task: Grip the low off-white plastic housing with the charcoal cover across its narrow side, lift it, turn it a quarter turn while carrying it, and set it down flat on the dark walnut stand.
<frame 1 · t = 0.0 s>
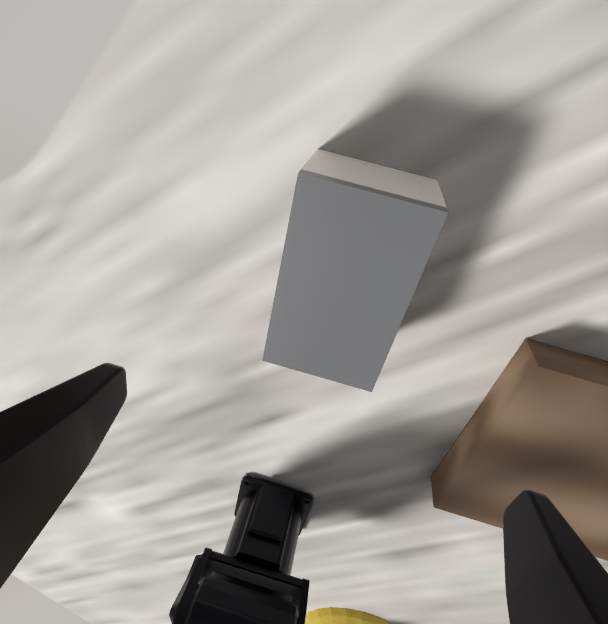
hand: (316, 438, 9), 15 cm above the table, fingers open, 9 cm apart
walnut stand: (589, 452, 26), on the table
housing: (350, 253, 22), on the table
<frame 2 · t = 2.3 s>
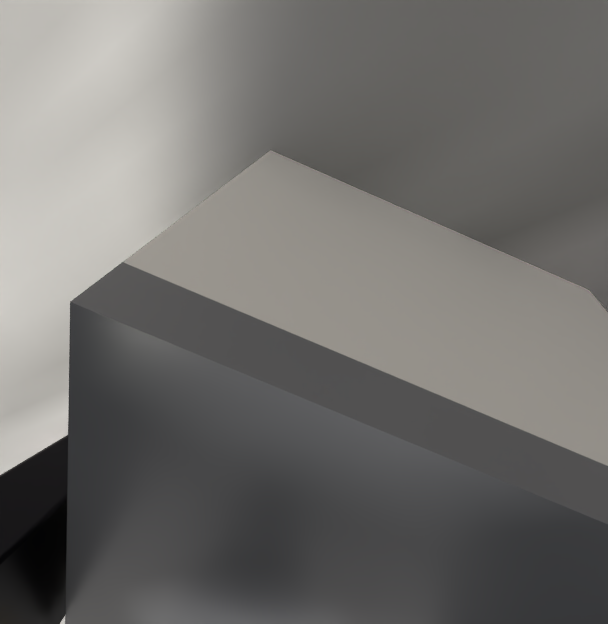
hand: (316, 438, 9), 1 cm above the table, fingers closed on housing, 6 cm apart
housing: (324, 403, 10), on the table, touching gripper
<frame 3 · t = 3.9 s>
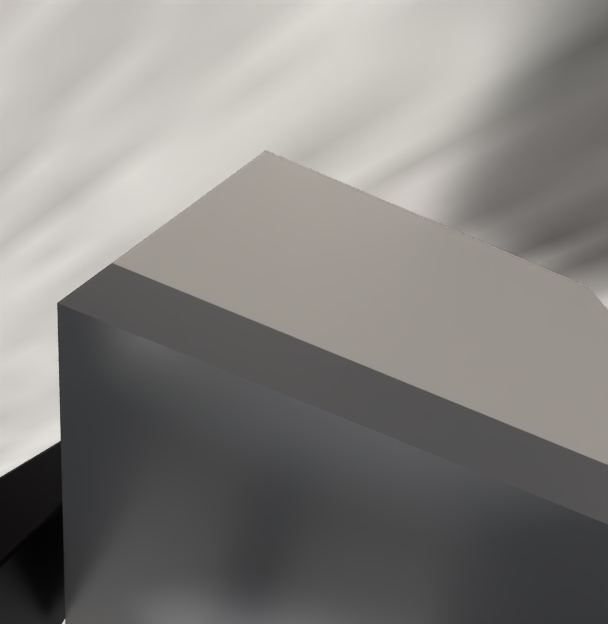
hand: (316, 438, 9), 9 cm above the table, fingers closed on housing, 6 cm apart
housing: (324, 403, 10), point 8 cm above the table, touching gripper
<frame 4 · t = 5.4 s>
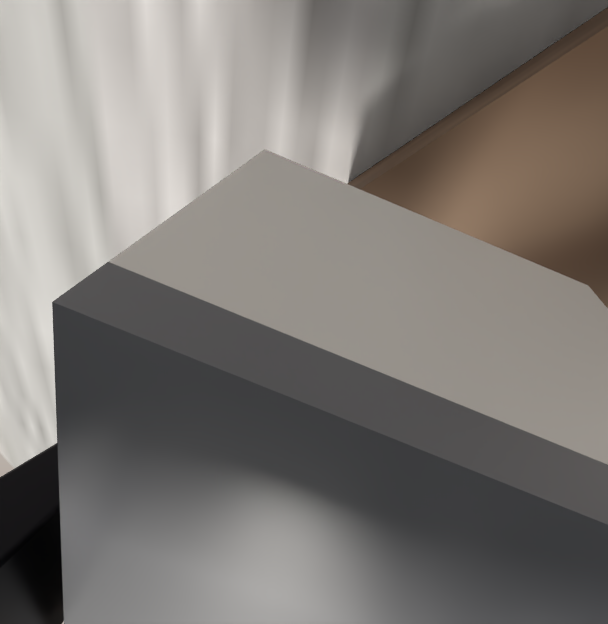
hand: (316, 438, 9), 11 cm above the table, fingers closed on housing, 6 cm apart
housing: (323, 403, 10), point 10 cm above the table, touching gripper
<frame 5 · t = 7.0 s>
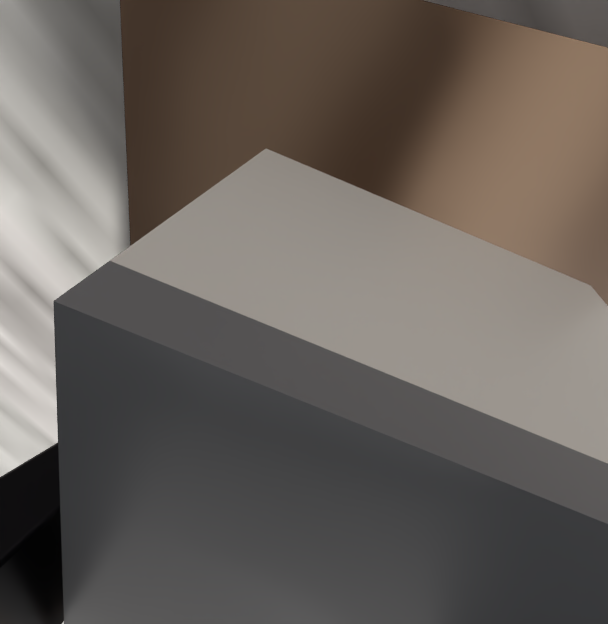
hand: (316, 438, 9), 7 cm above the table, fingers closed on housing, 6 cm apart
walnut stand: (347, 280, 15), on the table
housing: (324, 403, 10), point 6 cm above the table, touching gripper
when the fingers open (5 cm above the table, at t = 8.3 s): housing drops 1 cm, resting on walnut stand.
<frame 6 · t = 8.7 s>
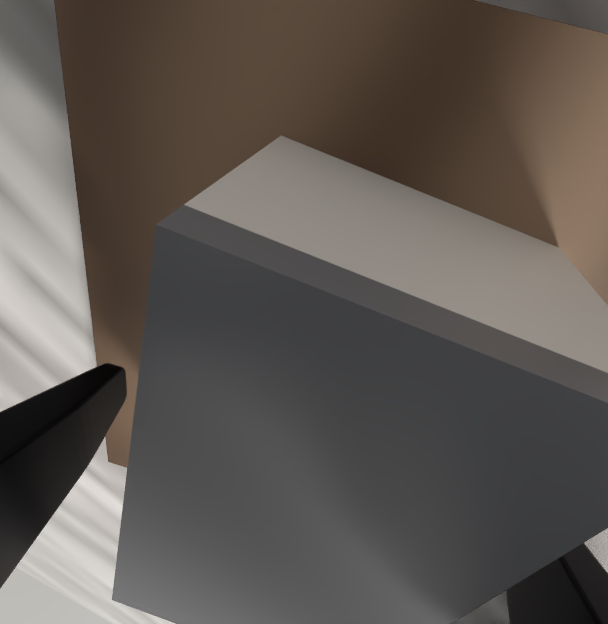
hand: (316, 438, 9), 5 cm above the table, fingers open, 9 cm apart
walnut stand: (341, 314, 13), on the table
housing: (332, 364, 11), point 2 cm above the table, touching walnut stand
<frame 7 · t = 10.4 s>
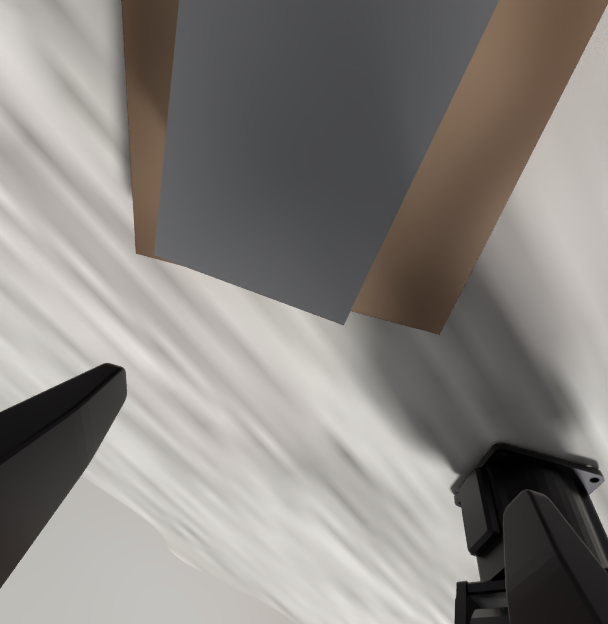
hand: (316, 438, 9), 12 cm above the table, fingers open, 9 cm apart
walnut stand: (334, 87, 15), on the table
housing: (327, 93, 13), point 2 cm above the table, touching walnut stand
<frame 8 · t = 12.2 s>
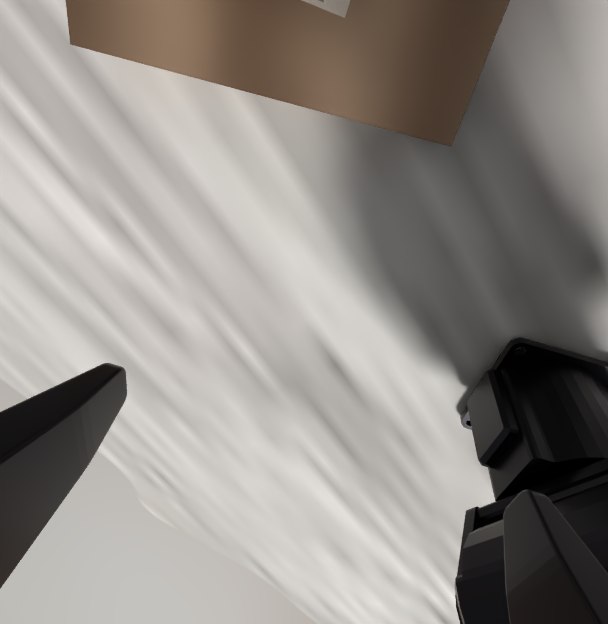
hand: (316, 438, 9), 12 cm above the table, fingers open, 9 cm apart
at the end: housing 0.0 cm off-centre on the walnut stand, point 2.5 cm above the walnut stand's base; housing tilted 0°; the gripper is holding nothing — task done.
